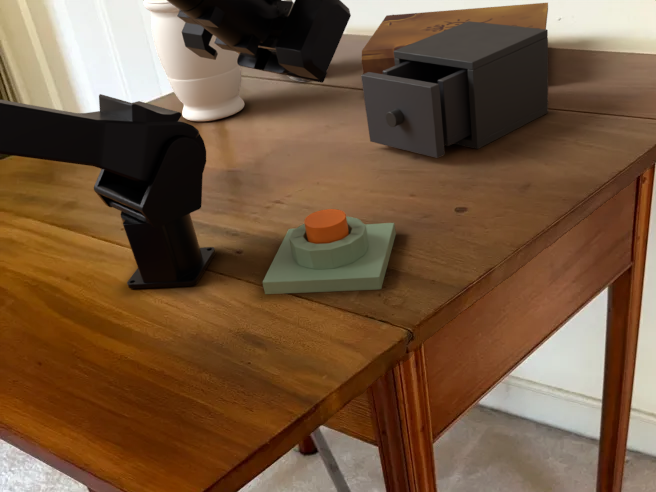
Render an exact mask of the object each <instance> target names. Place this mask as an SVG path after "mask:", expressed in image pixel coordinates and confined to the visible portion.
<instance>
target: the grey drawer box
mask: <svg viewBox="0 0 656 492" xmlns="http://www.w3.org/2000/svg"><path fill="white" fill-rule="evenodd" d="M548 35H549V33H548V29H547V28H546V29H537V28H528V27H518V26H509V25H499V24H490V23H480V22H471V21H468V22H465V23H463V24H460V25H458V26H455V27H452V28H450V29H447V30H445V31H442V32H440V33H437V34H435V35H432V36H430V37H427V38H425V39H422V40H420V41H417V42H415V43H412V44H410V45H407V46H405V47H402V48H400V49H397V50H395V51H394V58H395V59H394V60H395V66H396V65H398V64H401V63H403V62H406V61H408V60H411V61H417V62H424V63H431V64H437V65H444V66H450V67H457V68H463V69H468V86H469V102H470V118H471V135H469V136H467V137H465V138H463V139H461V140H459V141H457V142H455V143H453V144H454V145H458V146H461V147H466V148H467V147H468V148H471V149H476V150H479V149H481V148H483V147H485V146H487V145H489V144H491V143H492V142H495V141H496V140H499V139H500V138H502V137H504V136H506V135H507V134H510V133H511V132H513V131H515V130H518V129H519V128H521V127H523V126H526V125H527V124H529V123H531V122H533V121H535V120H536V119H538V118H541V117H543V116H544V115H546V114H549V37H548ZM453 144H452V145H453Z"/></svg>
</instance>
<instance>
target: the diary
mask: <svg viewBox="0 0 656 492" xmlns="http://www.w3.org/2000/svg"><path fill="white" fill-rule="evenodd" d="M548 15H549V2H539V3H537V2H536V3H525V4H524V3H523V4H512V5H501V6H488V7H487V6H486V7H475V8H464V9H463V8H462V9H452V10H451V9H450V10H437V11H425V12H411V13H400V14H388V15H386V16H385V17H384V18H383V20H382V21H381V23H380V24H379V26H378V27H377V28H376V30H375V31H374V33H373V34H372V36H371V37H370V38H369V40H368V41H367V43H366V44H365V46H363V48H362V50H361V67H362V74H365V73H367V72H372V73H378V74H383V71H384V70H386V69H389V68H391V67H393V66H395V60H394V59H395V58H394V51H395V50H397V49H400V48H402V47H405V46H407V45H410V44H412V43H415V42H417V41H420V40H422V39H425V38H427V37H430V36H432V35H435V34H437V33H440V32H442V31H445V30H447V29H450V28H452V27H455V26H458V25H460V24H463V23H465V22H468V21H471V22H480V23H490V24H499V25H509V26H518V27H528V28H537V29H547V22H548Z"/></svg>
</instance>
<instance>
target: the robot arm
mask: <svg viewBox="0 0 656 492" xmlns="http://www.w3.org/2000/svg"><path fill="white" fill-rule="evenodd" d="M167 1H168V2H169V3H171V4H172V5H173V6H175V7H176V8H178V9H179V10H180V11H179V13H178V15H177V16H178V17H179V18H180V19H182V20H183V21H184V22H185V25H184V27H183V30H182V36H183V40H184V43H185V47H187V48H188V49H189V50H191V51H192V52H194V53H195V54H197V55H198V56H200V57H203V58H208V59H213V60H216V57H217V55H218V53H217V51H216V50H215V49H214V48H212V47H211V46H210V45H209V43H210V41H211V38H212V36H213V35H214V36H216V40H215V42H214V43H215V44H216V45H218V46H219V47H220V48H222V49H224V50H230V51H235V52H237V53H238V54H239V56H238V59H237V64H238V65H239V66H241V68H242V67H243V68H248V69H252V70H257V71H261V72H267V73H272V74H277V75H281V76H287V77H288V76H291V77H296V78H301V79H306V80H310V81H311V82H316V83H322V84H323V83H324V82H325V80H326V78H327V74H328V70H329V67H330V65H331V63H332V61H333V59H334V56H335V54H336V52H337V49H338V47H339V45H340V42H341V39H342V37H343V35H344V33H345V30H346V28H347V26H348V23H349V21H350V20H351V19H350V18H351V11H350V8H349V7H348V6H347V5H346V4H345V3H344V2H342V1H341V0H294V1H293V0H292V1H293V2H292V1H284V0H167ZM98 105H99V110H98V111H90V112H72V111H68V110H67V111H66V110H61V109H56V108H50V107H44V106H39V105H33V104H27V103H21V102H17V101H11V100H5V99H0V155H6V156H11V157H12V156H13V157H20V158H28V159H37V160H44V161H51V162H59V163H66V164H73V165H82V166H89V167H93V168H98V169H100V171H99V174H98V177H97V178H96V181H95V183H94V186H93V191H94V192H95V194H96V195H97V196H98V197H99V199H100V200H101V201H102V202H103V203H104V205H105V206H107V207H108V208H113V209H115V210H118V211H119V212H120V218H121V221H122V226H123V228H124V231H125V235H126V237H127V241H128V243H129V246H130V249H131V252H132V255H133V258H134V261H135V263H136V266H137V268H136V270H135V271H134V272H133V273H132V275H131V276H130V277H129V279H128V280H127V282H126V286H127V287H128V288H129V289H147V288H148V289H151V288H152V289H153V288H154V289H155V288H174V287H175V288H176V287H192V286H196V285H197V284H198V282H199V281H200V279H201V278H202V276H203V275H204V273H205V271H206V270H207V269H208V266H209V264H210V263H211V261H212V260H213V258H214V257H215V255H216V253H217V251H216V248H215V247H214V246H206V247H205V246H204V247H201V246H200V243H199V240H198V236H197V234H196V229H195V226H194V224H193V220H192V217H191V213H194V212H196V211H199V210H200V209H202V204H203V203H202V202H203V201H202V198H203V176H204V175H203V173H204V172H205V167H206V163H207V149H206V145H205V141H204V139H203V137H202V136H201V133H200V130H199V129H198V128H196V127H195V126H194V125H192V124H190V123H187V122H185V121H182V120H180V119H181V117H182V112H181V111H177V110H173V109H169V108H165V107H162V106H158V105H154V104H151V103H148V102H144V101H140V100H138V101H135V102H130V101H126V100H123V99H119V98H116V97H113V96H109V95H105V94H101V93H99V95H98Z"/></svg>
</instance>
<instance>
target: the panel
mask: <svg viewBox="0 0 656 492" xmlns="http://www.w3.org/2000/svg"><path fill="white" fill-rule="evenodd" d="M346 218H347V224H348V230H349V235H348V236H346V237H345V238H343V239H342V240H338V241H335V242H332V243H323V244H315V243H311V242H308V239H307V234H306V229H305V224H304V223H302V224H301V225H299V226H297V227H293V228H288V229H287V232H286V234H285V235H284V238H283V239H282V242H281V244H280V246H279V248H278V250H277V252H276V254H275V255H274V258H273V259H272V262H271V264H270V265H269V268H268V270H267V271H266V274H265V276H264V278H263V280H262V287H263V290H264V294H265V295H281V294H284V295H285V294H304V293H305V294H307V293H330V292H332V293H333V292H353V291H376V290H377V291H378V290H382V287H383V284H384V280H385V276H386V273H387V268H388V265H389V261H390V258H391V254H392V251H393V250H392V249H393V247H394V243H395V239H396V236H397V234H396V225H395V222H383V223H366V224H365V223H364V222H363V221H362V220H361V219H360V218H357V217H354V216H353V217H352V216H350V215H349V216H348V215H346Z"/></svg>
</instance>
